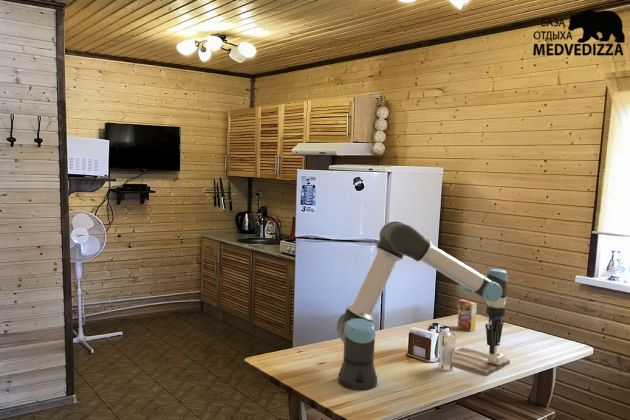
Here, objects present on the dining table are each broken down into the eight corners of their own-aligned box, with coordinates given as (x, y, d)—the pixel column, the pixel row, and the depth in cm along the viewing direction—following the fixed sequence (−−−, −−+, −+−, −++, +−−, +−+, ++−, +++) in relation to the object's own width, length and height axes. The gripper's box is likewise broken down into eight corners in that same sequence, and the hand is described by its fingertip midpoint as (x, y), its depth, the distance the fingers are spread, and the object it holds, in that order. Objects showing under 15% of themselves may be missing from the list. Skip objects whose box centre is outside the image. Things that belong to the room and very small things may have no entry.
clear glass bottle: (454, 372, 219) (456, 337, 218) (437, 370, 220) (439, 335, 219) (453, 366, 226) (455, 332, 225) (436, 364, 227) (438, 330, 226)
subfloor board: (486, 375, 217) (486, 372, 217) (438, 360, 232) (438, 357, 232) (509, 363, 233) (509, 360, 232) (463, 350, 248) (463, 346, 248)
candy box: (456, 327, 285) (458, 299, 284) (462, 326, 288) (463, 299, 287) (470, 332, 278) (472, 303, 277) (475, 330, 281) (477, 302, 279)
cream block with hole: (498, 364, 224) (499, 357, 224) (487, 361, 228) (487, 354, 227) (504, 361, 229) (505, 354, 228) (493, 358, 232) (494, 351, 232)
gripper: (497, 310, 216) (494, 366, 218) (511, 305, 226) (507, 359, 227) (480, 306, 222) (477, 361, 223) (494, 302, 231) (491, 354, 233)
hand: (492, 360), depth 225 cm, fingers closed
